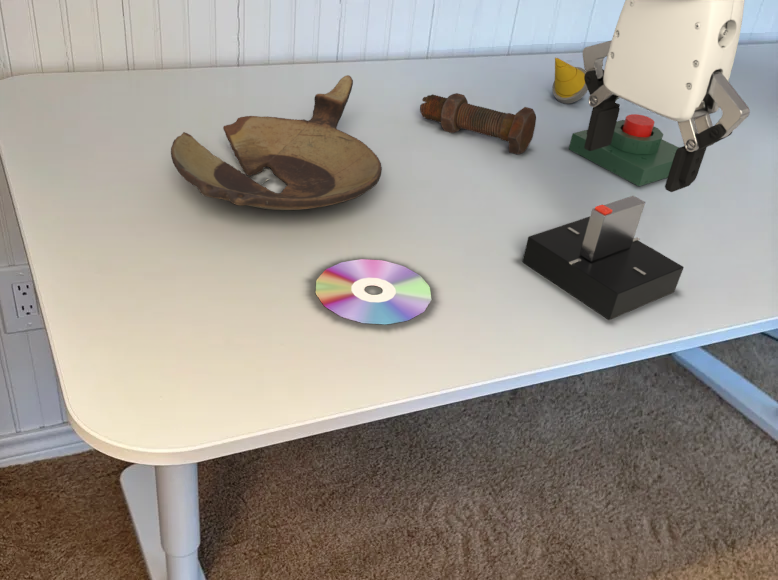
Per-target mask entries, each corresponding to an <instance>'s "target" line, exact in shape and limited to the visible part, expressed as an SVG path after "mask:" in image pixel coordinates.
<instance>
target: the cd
mask: <svg viewBox="0 0 778 580" xmlns="http://www.w3.org/2000/svg"><path fill="white" fill-rule="evenodd" d="M370 286H376V287H379V288H380V289H381V290H382V292H381V293H379V294H370V293H368V292H367V291H366V290H365V289H366V288H367V287H370ZM315 295H316V296H317V298H318V299H319V301H320V302H321V304H322V306H323V307H325V308H326V309H328V310H330V311H331V312H333V313H334V314H335V315H338V317H341V318H344V319H347V320H350V321H353V322H358V323H361V324H370V325H371V324H373V325H391V324H396V323H397V324H398V323H402V322H407V321H408V322H409V320H412V319H413V318H415V317H417V316H419V315H421V314H423V313H425V311H426V309H427V308H428V307H429V304H430V303H431V302H432V294H431V287H430V285H429V284H428V283H427V282H426V281H425V279H424V278H423V277H422V276H421V275H420V274H418V273H417V272H414V270H412V269H410V268H408V267H406V266H405V265H401V264H398V263H395V262H394V263H393V262H391V261H387V260H384V259H383V260H381V259H369V258H368V259H367V258H359V259H353V260H347V261H342V262H339V263H337V264H335V265H333V266H330V267H327V268H326V269H325V270H324V271H323V272H322V273H321V274H320V275H319V276H318V277H317V279H316V281H315Z"/></svg>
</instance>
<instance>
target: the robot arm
mask: <svg viewBox="0 0 778 580" xmlns="http://www.w3.org/2000/svg"><path fill="white" fill-rule="evenodd" d="M744 9H745V0H625V1H624V2H623V5H622V9H621V11H620V13H619V16H618V20H617V23H616V25H615V28H614V32H613V35H612V37H611V40H607V41H603V42H600V43H596V44H591V45H589V46H585V47H584V48H583V49H582V60H583V67H584V68H583V69H584V70H585V71H586V74H585V76H584V80H585V83H586V86H587V88H588V91H587V92H588V93H589V96H588V101H587V102H588V105H589V106H590V107H591V108H592V110H591V113H590V118H589V121H588V126H587V129H586V130H587V138H586V142H585V146H584V148H585V149H586V150H588V151H592V150H596V149H599V148H602V147H606V146H609V145H610V144H611V141H612V137H613V133H614V130H615V126H616V122H617V121H618V117H619V114H620V110H621V109H620V106H621V104H619V103H618V102H616V101H618V100H619V99H622V100H625V101H627V102H628V103H631V104H633V105H636V106H638V107H641V108H643V109H644V110H646V111H649V112H652V113H654V114H656V115H659V116H661V117H663V118H665V119H668V120H671V121H674V122H677V126H678V128H679V131H680V135H681V139H682V142H683V146H679V148H678V149H677V150H676V153H675V156H674V159H673V162H672V165H671V168H670V172H669V175H668V178H666V181H665V184H664V188H665V190H666V191H668V192H670V193H673V192H677V191H679V190H682V189H685V188H687V187H689V186H691V185H692V184H693V183H694V182H695V181H696V179H697V177H698V174H699V171H700V169H701V165H702V162H703V161H704V160H703V159H704V156H705V153H706V151H707V148H708V147H710V146H713V145H715V144H716V143H717V142H720V141H722V140H724V139H726V138H727V137H729V136H731V135H732V134H733V132H734V131H735V130H736V129H738V127H739V126H740V125H741V124H742V123H743V122H744V121H745V120H746V119H747V118H748V117H749V116H750V113H751V110H750V109H751V108H750V107H749V106H748V105H747V103H746V102H745V101H744V99H743V98H742V97H741V96H740V94H739V92H737V90H736V89H735V88H734V87H733V85H732V84H731V82H729V81H730V78H731V73H732V71H733V66H734V62H735V58H736V55H737V50H738V45H739V41H740V37H741V31H742V25H743V18H744ZM605 58H606V59H605ZM604 59H605V64H604ZM603 67H604V68H603ZM719 109H720V110H721V112H722V113H721V116H720V118H719V120H718V121H717V122H716V123H715V124H714V125H713V122H712V118H711V115H712V114H714V113H716V112H718V111H719Z"/></svg>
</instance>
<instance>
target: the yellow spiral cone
mask: <svg viewBox="0 0 778 580" xmlns="http://www.w3.org/2000/svg"><path fill="white" fill-rule="evenodd" d="M585 74H586V70H585V69H584V68H583V67H580V66H573V65H572V64H570V63H568V62H566V61H564V60H563V59H560V58H558V57H554V81H553V84H552V89H551V91H552V94H553V96H554V98H555V99H556V100H557V101H558V102H559V103H561V104H564V105H565V104H566V105H568V104H573V103H577V102H578V101H580V100H581V99H582V98H583V97H585V95H586V94H587V93H588V92H589V91H588V88H587V86H586V83H585V80H584V76H585Z"/></svg>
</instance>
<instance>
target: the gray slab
mask: <svg viewBox="0 0 778 580" xmlns="http://www.w3.org/2000/svg"><path fill="white" fill-rule="evenodd" d="M645 205H646V201H644V200H642V199H640V198H639V197H636V196H635V195H630V196H628V197H624V198H622V199H621V198H620V199H619V200H616V201H613V202H609V203H606V204H599V205H596V206H595V207H594V208H592V209H591V211H590V212H591V213H590V215H589V216H590V219H589V223H588V226H587V230H586V233H585V237H584V240H583V244H582V247H581V251H580V255H581V256H583V257H584V258H586V259H587V260H589V261H591V262H592V261H595V260H598V259H600V258H603V257H606V256H608V255H611V254H614V253H616V252H619V251H622V250H625V249H627V248H630V247H631V245H632V242H633V239H634V238H635V235H636V233H637V229H638V227H639V223H640V221H641V218H642V214H643V211H644V208H645Z"/></svg>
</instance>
